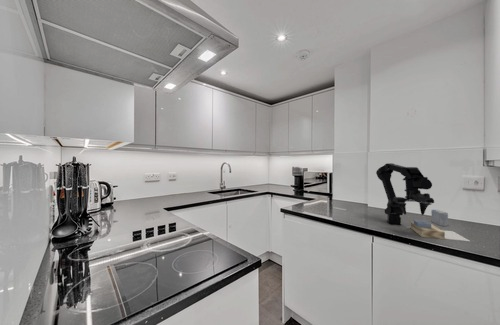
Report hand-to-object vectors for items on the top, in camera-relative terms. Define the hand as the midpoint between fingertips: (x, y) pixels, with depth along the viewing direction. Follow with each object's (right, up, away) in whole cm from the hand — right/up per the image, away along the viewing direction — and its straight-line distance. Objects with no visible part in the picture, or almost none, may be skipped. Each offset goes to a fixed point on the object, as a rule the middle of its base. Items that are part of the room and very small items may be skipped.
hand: (413, 214), depth 112 cm
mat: (+17, -11, -4) cm, 21 cm away
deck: (+7, -11, 0) cm, 13 cm away
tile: (+5, -7, 0) cm, 9 cm away
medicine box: (+30, -11, +15) cm, 35 cm away
